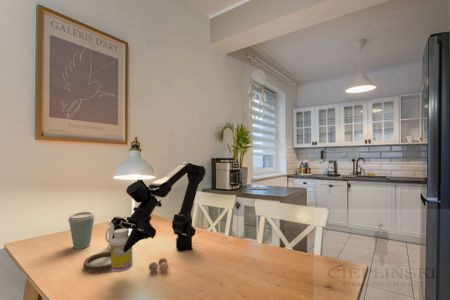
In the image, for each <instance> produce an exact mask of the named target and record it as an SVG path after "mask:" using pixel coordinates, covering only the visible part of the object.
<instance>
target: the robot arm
mask: <svg viewBox="0 0 450 300" xmlns="http://www.w3.org/2000/svg"><path fill="white" fill-rule="evenodd" d="M206 173H207V171H206V168H205V166H203V165H199V164H198V165H197V164H194V163H191V162H185V161H183V162H181V163H180V164H179V165H178V166H177V167H176V168H174V169H173V170H171V172H169V173H168V174H167V175H166V176H165V177H163V178H160V179H157V180H155V181H152V182H150V184H149V185H146V183H145V182H144V180H143V179H141V178H140V179H137V180H135V182H134V181H133V182H132V183H131V184H129V185H128V186H127V188H126V190H125V191H126V193H127V194H128V196H129V197H130V198H131V199H133V201H135V203H137V204H138V206H136V207H135V206H134V207H133V209H132V210H133V213H132V214H131V216H126V217H121V216H114V217H113V218H112V221H111V223H113V224H114V231H115V230H118V229H125V228H126V229H130V230H131V231H130V233H129V235H128V236H129V238H128V240H127V242H126V245H125V247H124V250H123V251H124V252H127V251H128V250H129V249H130V248H131V247H132V248H133V247H134V246H135V245H136V244H137V243H138V242H139V241H142V240H147V239H149V238H150V239H154V238H155V236H156V235H157V229H156V228H155V227H153V225H152V223H151V221H152V216H151V215H152V213H153V212H154V210H155V209H156V207H158V208H162V201H161V199H157V198H165V197H167V196H168V195H169V193H170V192H171V191H172V187H173V186H174V185H175V184H176V183H177V182H178V181H180V179H182V178H183V177H184V176H185V175H186V174H187V175H186V178H187V180H188V181H187V182H188V183H187V186H186V189H185V193H184V196H183V201H182V204H181V207H180V211H179V212H178V213H177V214H176V213H175V214H174V215H173V220H172V221H171V224H172V225H171V228H172V231H173V234H174V235H176V238H175V248H176V249H177V251H178V252H185V251H193V250H194V248H193V237H194V236H195V235H196V228H195V227H194V226H193V217H192V211H193V207H194V203H195V201H196V199H195V198H196V195H197V191H198V188H199V185H200V184H201V182H202V181H203V180H204V178H205V176H206ZM124 218H126V220H127V221H128V222H127V221H126V220H125V219H124ZM114 238H115V236H114V232H113V237H112V239H114Z"/></svg>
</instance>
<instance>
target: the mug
mask: <svg viewBox="0 0 450 300" xmlns="http://www.w3.org/2000/svg"><path fill="white" fill-rule="evenodd" d="M123 218H124V219H125V220H126V218H127V217H123ZM112 219H113V218H112ZM112 219H109V221H108V227H107V229H106V232H105V234H104V235H105V240H106V243H108V245H107V248H108V249H109V250H111V241H112V237H113V232H114V224H113V223H111V221H112ZM126 221H127V220H126ZM127 222H128V221H127Z"/></svg>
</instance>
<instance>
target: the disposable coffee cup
mask: <svg viewBox="0 0 450 300" xmlns="http://www.w3.org/2000/svg"><path fill="white" fill-rule="evenodd" d="M67 220H68V223H69V227H70V235H71V239H72V246H73V248H74V249H79V250H80V249H85V248H87V247H89V246H90V245H91V242H92V235H93V228H94V222H95V221H94V220H95V214H94V213H93V212H92V211H79V212H75V213H72V214H70V215H69V217H68V219H67Z"/></svg>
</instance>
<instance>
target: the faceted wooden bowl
mask: <svg viewBox="0 0 450 300" xmlns="http://www.w3.org/2000/svg"><path fill="white" fill-rule="evenodd" d="M82 268H83V271H85V272H86V273H91V274H98V273H99V274H100V273H107V272H110V271H112V268H111V250H110V251H102V252H99V253H95V254H93V255H90V256H89V257H86V258H85V260H84V261H83V267H82Z"/></svg>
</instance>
